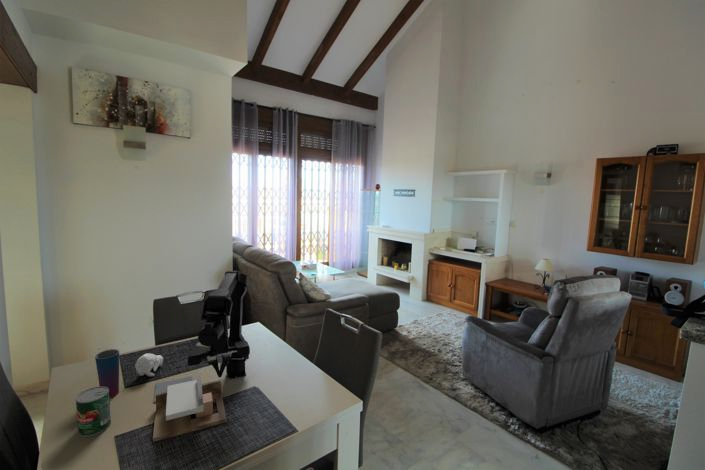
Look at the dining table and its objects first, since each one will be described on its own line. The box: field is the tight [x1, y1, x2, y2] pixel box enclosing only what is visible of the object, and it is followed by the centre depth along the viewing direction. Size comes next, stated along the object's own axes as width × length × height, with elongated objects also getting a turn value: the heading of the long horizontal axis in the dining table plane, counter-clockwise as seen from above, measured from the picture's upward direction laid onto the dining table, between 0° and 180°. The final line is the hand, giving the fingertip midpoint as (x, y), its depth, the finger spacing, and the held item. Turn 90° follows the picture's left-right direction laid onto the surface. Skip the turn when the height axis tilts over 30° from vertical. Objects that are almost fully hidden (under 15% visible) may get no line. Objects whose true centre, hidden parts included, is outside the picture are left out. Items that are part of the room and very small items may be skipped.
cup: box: [94, 348, 120, 399], centre depth 117 cm, size 7×7×15 cm
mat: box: [153, 375, 193, 404], centre depth 121 cm, size 12×12×1 cm
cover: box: [166, 375, 204, 420], centre depth 106 cm, size 10×16×4 cm, turn 27°
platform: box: [195, 341, 210, 352], centre depth 148 cm, size 12×18×7 cm, turn 79°
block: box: [195, 393, 214, 419], centre depth 109 cm, size 5×5×5 cm
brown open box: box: [152, 379, 227, 443], centre depth 107 cm, size 20×16×6 cm
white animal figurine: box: [134, 353, 164, 377], centre depth 132 cm, size 6×8×12 cm
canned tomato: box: [75, 385, 112, 438], centre depth 100 cm, size 8×8×11 cm
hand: (219, 376), depth 110 cm, fingers closed
